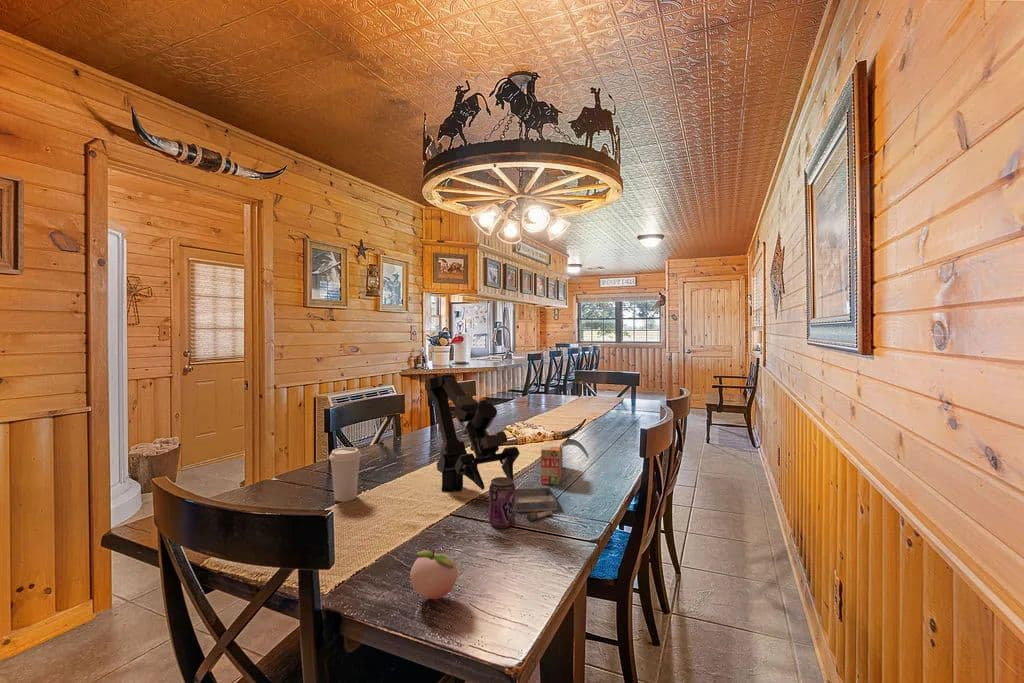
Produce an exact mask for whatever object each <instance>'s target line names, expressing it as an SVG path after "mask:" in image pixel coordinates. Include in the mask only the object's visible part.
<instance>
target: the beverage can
mask: <svg viewBox="0 0 1024 683" xmlns="http://www.w3.org/2000/svg"><path fill="white" fill-rule="evenodd" d="M515 489H516V485H515V483H514V478H513V479H511V478H507V477H505V476H499V477H495V478H494V477H493V478H492V479H491V480H490V484H489V490H488V492H489V493H488V494H489V496H488V500H489V502H488V503H489V504H488V506H489V507H488V509H489V510H488V511H489V512H488V517H489V520H488V522H489V524H490V525H491V526H493V527H495V528H499V529H505V528H508V527H511V526H513V525H515V524H516V509H515Z"/></svg>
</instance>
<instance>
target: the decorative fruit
mask: <svg viewBox="0 0 1024 683" xmlns="http://www.w3.org/2000/svg"><path fill="white" fill-rule="evenodd" d="M415 555H416V556H418V557H417V558H416V560H415V561H414V563H412V564H413V565H412V567H411V570H410V574H409V578H410V583H411V585H412V587H413V590H414V591H415V592H416V593H417V594H418V595H419V596H421V597H423V598H428V599H431V600H437V599H438V600H439V599H442V598H443V597H445V596H446V595H448V594H449V593H450V592H451V591H452V589H453V588H454V587H455V585H456V582H457V578H458V568H457V564H456V562H455V561H454V560H453V559H452V558H451V557H450V556H448V555H446V554H438V553H436V552H435V549H432V551H431V550H428V549H427V550H425V549H424V550H421V551H418V552H416V553H415Z"/></svg>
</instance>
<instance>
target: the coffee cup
mask: <svg viewBox="0 0 1024 683" xmlns="http://www.w3.org/2000/svg"><path fill="white" fill-rule="evenodd" d="M361 458H362V454H361V452H360V450H359V448H357V447H353V446H351V447H349V446H348V447H340V448H339V447H338V448H335V449H332V451H331V453H330V454H329V457H328V460H329V461H330V465H331V476H332V478H331V479H332V486H333V487H332V488H333V498H334V500H335V501H336V502H342V503H344V502H349V501H350V500H351V501H353V500H355V499H356V498H357V495H358V481H359V472H360V471H359V470H360V459H361Z"/></svg>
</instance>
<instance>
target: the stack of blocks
mask: <svg viewBox="0 0 1024 683" xmlns="http://www.w3.org/2000/svg"><path fill="white" fill-rule="evenodd" d="M540 452H541V454H540V469H541V470H540V484H541V485H548V484H554V485H553V486H559V485H560V482H561V478H562V472H563V467H562V466H563V458H564V457H563V456H564V455H563V452H564V451H563V443H562V441H561V440H544V441H543V445H542V447H541V450H540Z"/></svg>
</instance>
